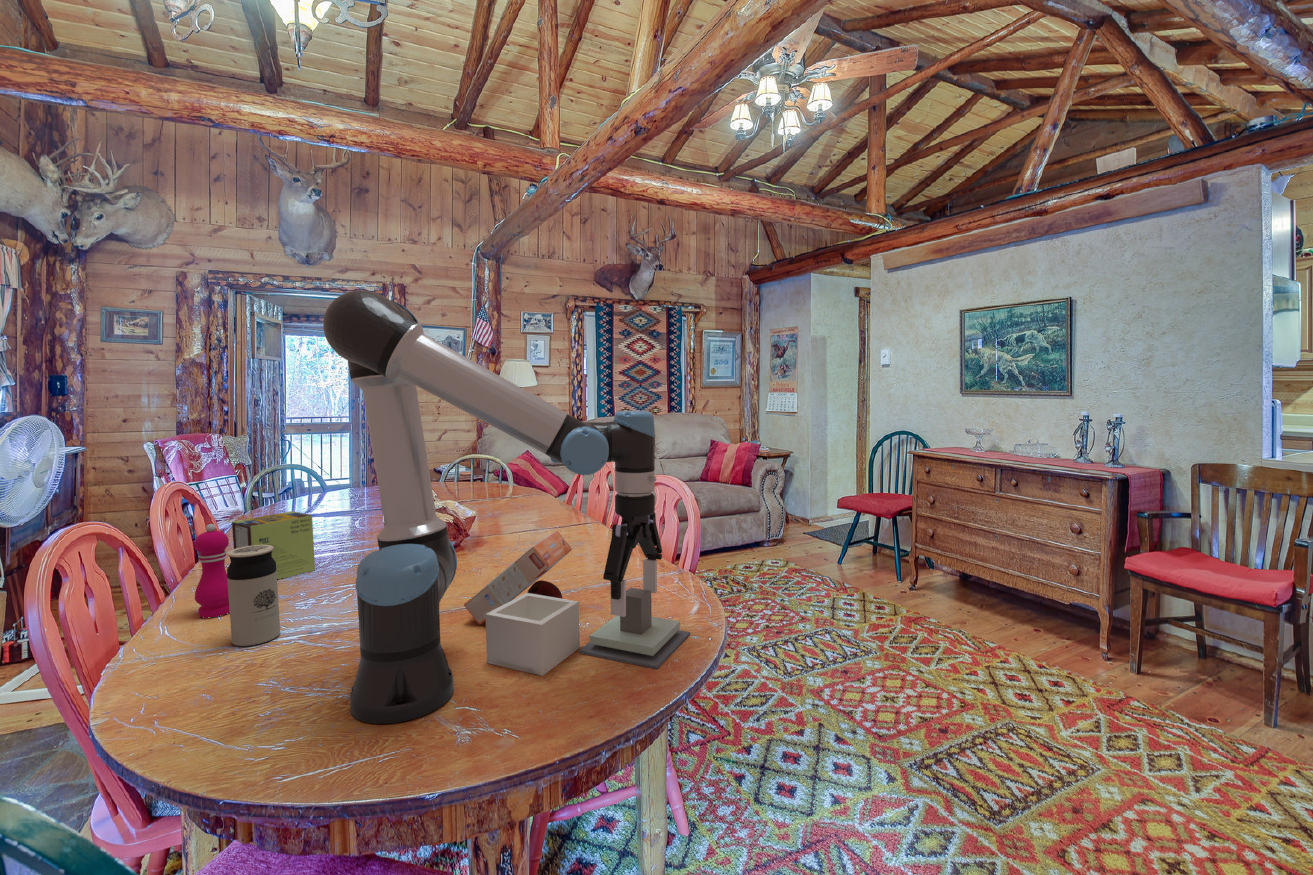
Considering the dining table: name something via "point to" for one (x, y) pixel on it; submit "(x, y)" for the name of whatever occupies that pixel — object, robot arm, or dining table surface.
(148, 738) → the dining table surface
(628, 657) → the mat
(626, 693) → the dining table surface
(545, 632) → the storage box
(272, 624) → the travel mug
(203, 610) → the pepper mill
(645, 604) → the lid
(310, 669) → the dining table surface
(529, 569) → the cracker box
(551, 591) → the apple
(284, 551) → the protein box
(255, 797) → the dining table surface
